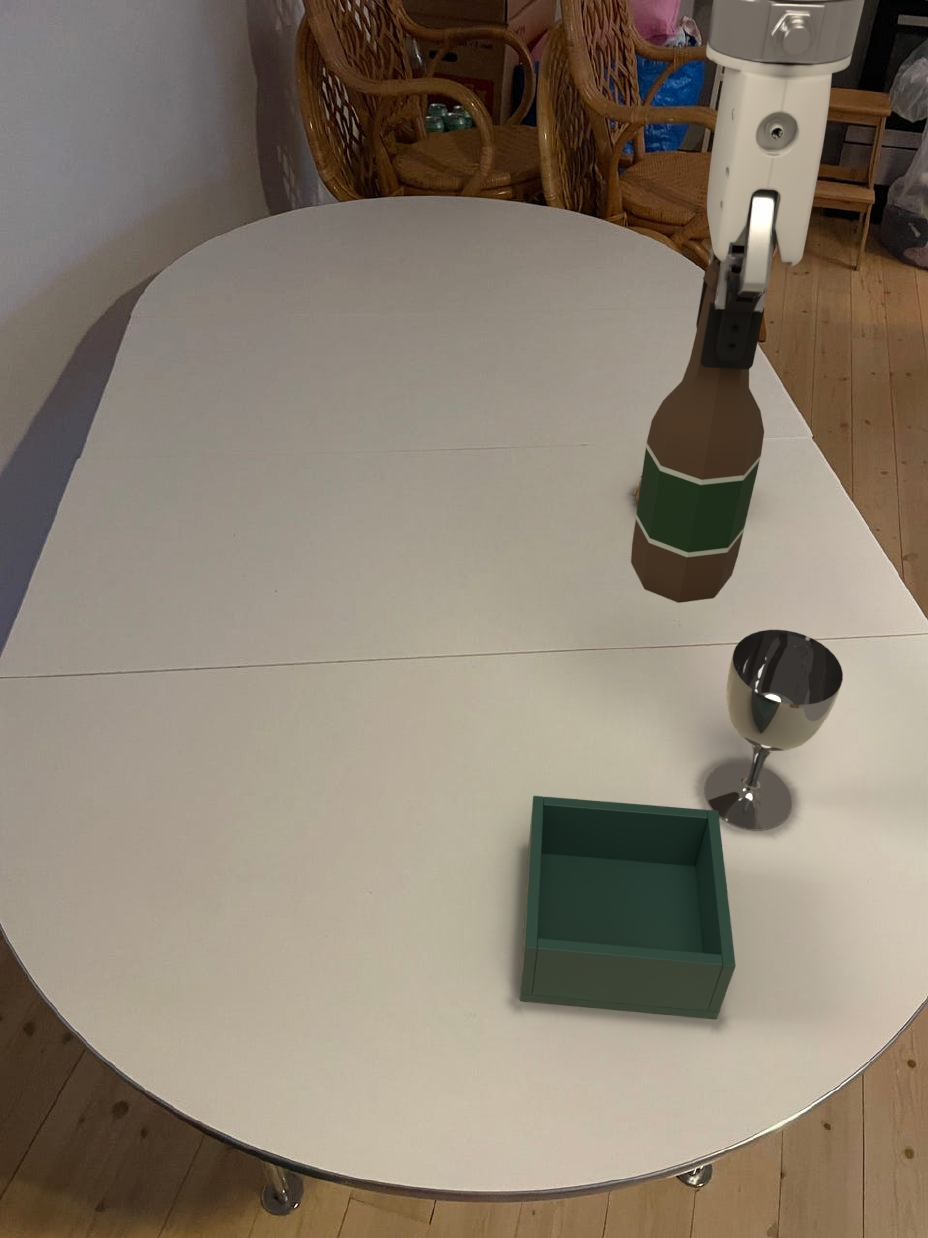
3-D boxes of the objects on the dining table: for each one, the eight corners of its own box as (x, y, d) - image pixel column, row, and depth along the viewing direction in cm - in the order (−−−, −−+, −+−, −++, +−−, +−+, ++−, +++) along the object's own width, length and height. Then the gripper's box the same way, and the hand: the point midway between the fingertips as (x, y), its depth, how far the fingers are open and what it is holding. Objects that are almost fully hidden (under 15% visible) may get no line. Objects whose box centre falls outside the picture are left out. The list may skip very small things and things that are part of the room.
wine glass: (718, 840, 83) (755, 710, 73) (686, 764, 89) (717, 634, 79) (812, 828, 84) (862, 698, 74) (775, 753, 90) (816, 624, 80)
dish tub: (702, 866, 81) (718, 810, 76) (716, 1019, 72) (735, 966, 67) (528, 851, 82) (533, 795, 77) (519, 1001, 73) (524, 947, 68)
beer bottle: (732, 548, 81) (800, 245, 65) (732, 612, 76) (806, 297, 60) (632, 535, 82) (675, 234, 67) (624, 598, 77) (669, 285, 61)
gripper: (886, 73, 48) (798, 420, 60) (832, -5, 60) (768, 296, 73) (721, 66, 49) (667, 411, 61) (701, -10, 61) (660, 290, 73)
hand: (723, 345), depth 67 cm, fingers closed on beer bottle, 3 cm apart
